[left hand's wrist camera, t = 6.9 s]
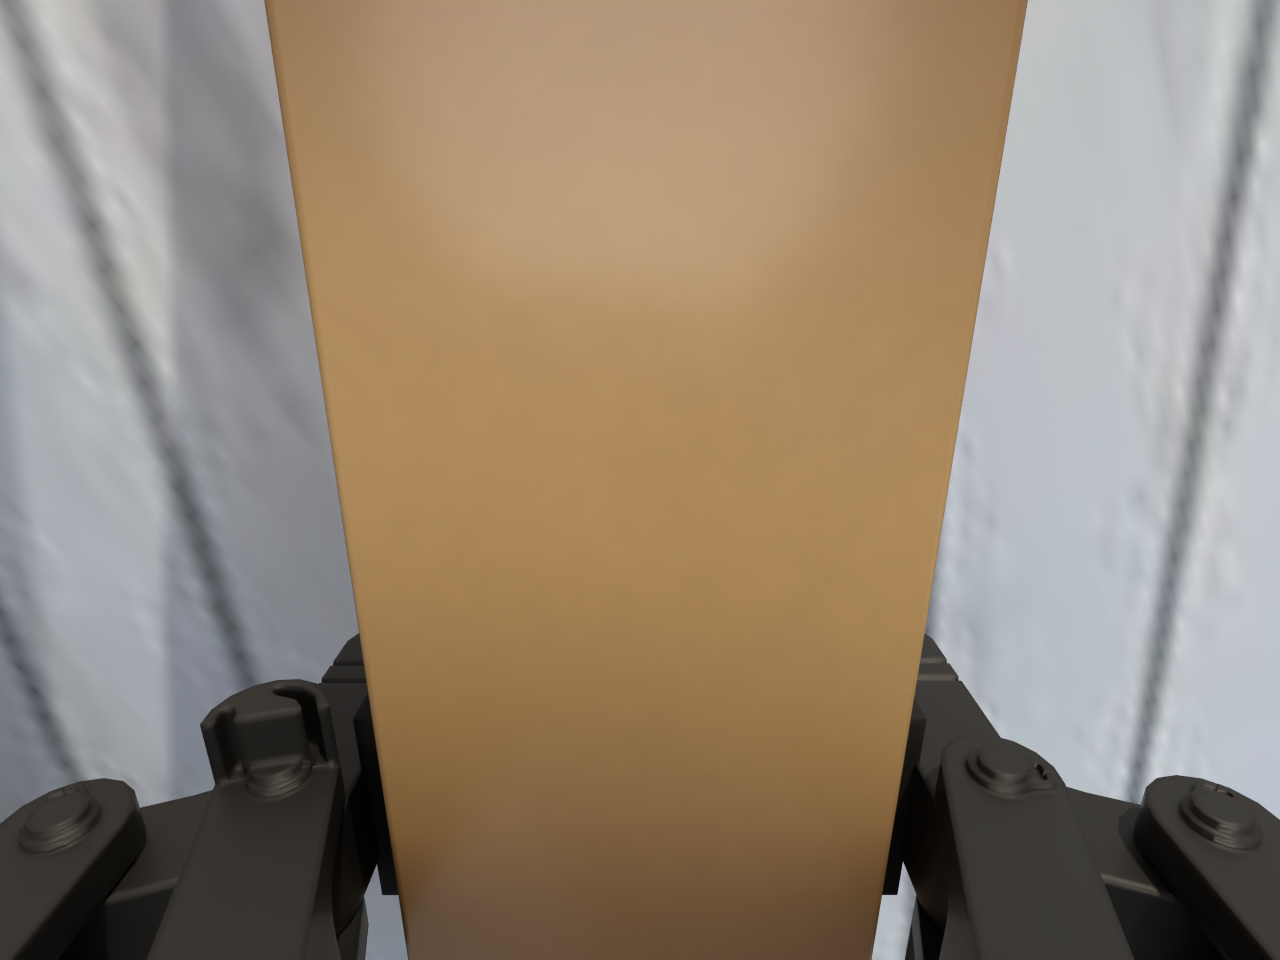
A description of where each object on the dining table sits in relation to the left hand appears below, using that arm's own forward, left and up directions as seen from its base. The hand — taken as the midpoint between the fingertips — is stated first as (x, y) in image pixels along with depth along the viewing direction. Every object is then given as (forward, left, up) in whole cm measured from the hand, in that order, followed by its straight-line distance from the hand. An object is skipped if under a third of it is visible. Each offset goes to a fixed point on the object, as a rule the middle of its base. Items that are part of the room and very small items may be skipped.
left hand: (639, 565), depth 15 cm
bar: (-3, +28, 0) cm, 28 cm away
